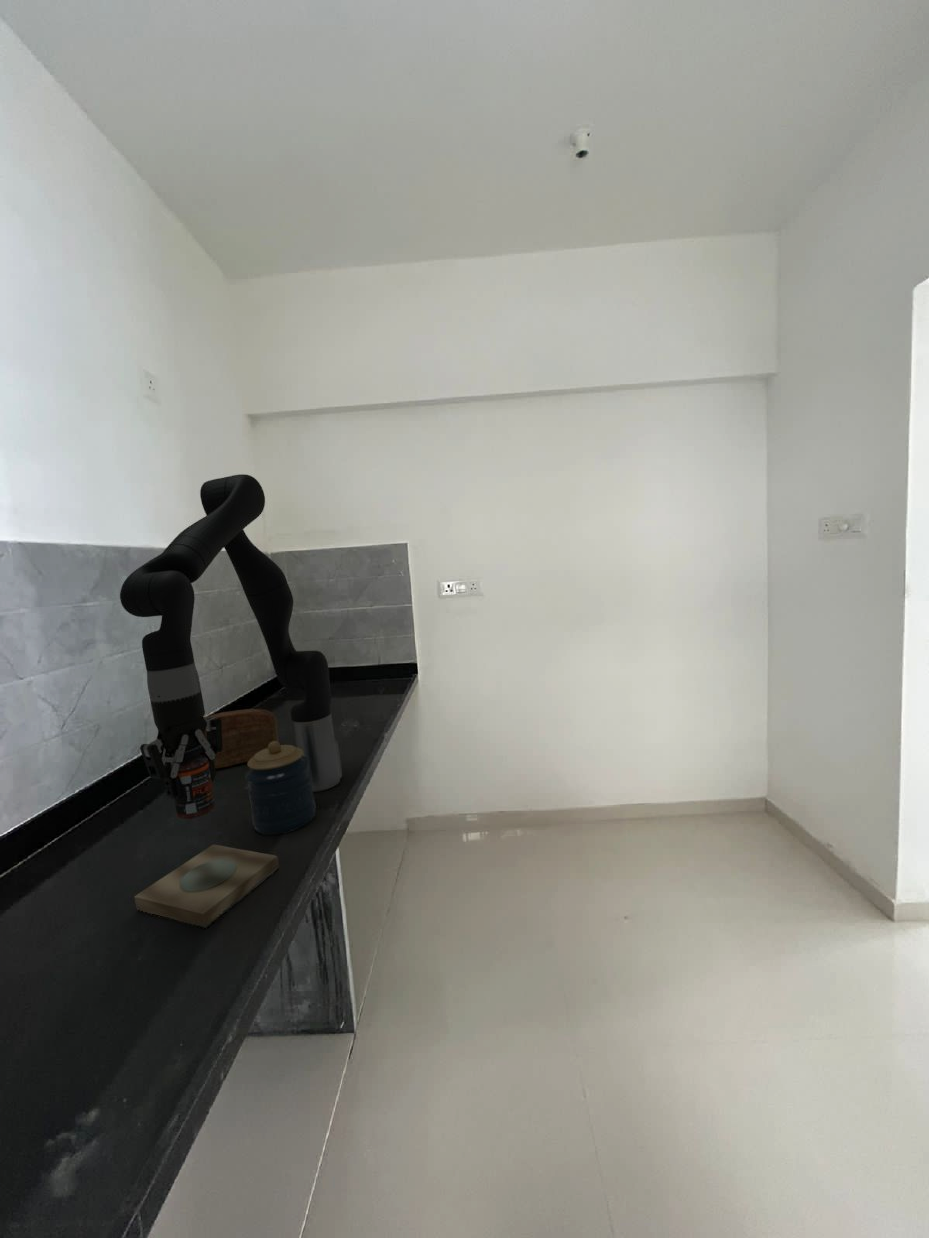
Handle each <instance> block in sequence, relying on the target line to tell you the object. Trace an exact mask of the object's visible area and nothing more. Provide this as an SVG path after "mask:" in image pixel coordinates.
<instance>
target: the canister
mask: <svg viewBox="0 0 929 1238" xmlns="http://www.w3.org/2000/svg"><path fill="white" fill-rule="evenodd" d="M303 753H304V752H303V750H302V749H300V748H297V747H296V745H292V744H280V742H279V741H278V742H277V741H273V742H270V743H269V745H268V748H266V749H264V750H261V751H259V752H258V753H256V754H255V755H254V757H252V758H251V759H250V760H249V761H248V762H247V767H248V768H249V769H248V770H247V771H245V773H244V778H245V779H246V781H247V782H248V787H247V794H248V796H249V803H250V809H251V814H252V816H251V820H252V824H253V826H254V829H255V831H256V832H258V833H259V834H261V835H267V836H268V835H269V836H273V835H272V834H276V835H282V834H285V833H284V832H287V833H290V832H292V831H291V830H293V831H295V830H294V829H296V828H298V829H300V828H302V827H304V826H306V825H307V824H309V823H310V822H311V821H312V820H313V819H314V817H315V816H316V809H317V805H316V801H315V799H314V792H313V790H312V783H311V774H310V773H309V772H308V769H307V767H308V765H309V760H308V759H307V758H306V757H303ZM312 818H313V819H312ZM309 821H310V822H309ZM308 822H309V823H308ZM303 825H304V826H303ZM301 826H302V827H301ZM296 830H297V829H296ZM289 831H290V832H289ZM281 833H282V834H281Z"/></svg>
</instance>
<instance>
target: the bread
mask: <svg viewBox="0 0 929 1238" xmlns="http://www.w3.org/2000/svg"><path fill="white" fill-rule="evenodd" d="M203 717H204V719H205V720H207V719H208V718H220V719H221V722H222V742H223V750H222V751H221V752H218V753H217V754H216V755H215V758H214V764H215V770H216V769H222V768H225V767H231V766H235V765H238V764H242V763H248V761H249V760H250V759H251V758H252V757H254V755H255V754H256V753H258V752H259V751H261V750H264V749H266V748H268V745H269V743H270V742H273V741H277V742H279V739H278V727H277V726H278V720H277V717H276V716H275V715H274V713H272V712H271V711H270V710H267V709H264V708H246V709H237V710H228V711H222V712H217V713H214V714H210V715H207V716H203ZM204 737H205V738H206V740H207V731H206V730H205V733H204ZM214 740H215V739H214ZM171 757H172V758H173V757H174V756H173V754H171Z"/></svg>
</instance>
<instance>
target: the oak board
mask: <svg viewBox="0 0 929 1238" xmlns="http://www.w3.org/2000/svg"><path fill="white" fill-rule="evenodd" d="M278 858H279V857H278V855H274V854H268V853H263V852H262V853H261V852H256V851H252V850H245V849H240V848H235V847H231V846H230V847H229V846H224V845H218V844H212V845H209V847H207V848H206V849H204V850H203V851H201V852H200V853H198V854H197V855H195V856H193V857H192V858H191V859H189V860H188V861H186V862H184V863H183V864H182V865H180V866H178V867H177V868H175V869H174V870H173V871H171V872H170V873H168V874H166V875H165V876H163V877H161V878H160V879H159V880H157V881H156V882H154V883H153V884H150V885H149V886H148V887H146V888H145V889H144V890H142V891H140V892H139V893H138V894H136V895H135V896H134V902H135V907H136V911H138V910H140V911H139V912H141V911H143V912H142V913H145V912H147V913H146V914H149V913H150V915H152V914H156V915H160V916H163V917H169V918H172V919H175V920H179V921H184V922H187V923H191V924H196V925H200V926H204V927H206V925H208V924H209V923H210V922H211V921H212V920H214V919H215V918H216V917H218V916H219V914H222V913H223V911H224V910H226V909H227V908H228V907H230V905H231V904H232V903H234V902H235V901H236V900H238V899H239V898H240V897H242V896H243V895H244V894H245V893H247V892H248V891H249V890H250V889H251V888H252V887H253V886H255V884H256V883H258V882H259V881H260V880H262V879H263V878H264V877H265V876H267V875H268V874H269V873H271V872H272V871H273V870H274V869H276V868H277V867H278V866H279V867H280V865H279V863H280V862H279V859H278ZM156 915H155V916H156ZM160 916H159V917H160ZM163 917H162V918H163Z"/></svg>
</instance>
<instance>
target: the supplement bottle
mask: <svg viewBox="0 0 929 1238" xmlns="http://www.w3.org/2000/svg"><path fill="white" fill-rule="evenodd" d="M200 752H201V751H200V747H199V745H198V746H196V747H194V748H191V749H189V750H187V751H184V756H183V761H182V763H180V765H179V769H178V774H177V776H179V780H180V786H181V791H182V797H181V798H179V799H173V801H174V805H175V811H176V815H177V817H178V818H180V819H184V820H186V819H187V820H189V819H191V820H192V819H196V818H199V817H202V816H203V817H204V816H205V815H206V814H208V813H210V812H211V811H212V810H214V808H215V807H216V799H215V791H214V788H213V781H211V774H210V769H209V763H208V759H207V758H206V757H205V756H202V755H201V754H200ZM173 756H175V755H173ZM173 756H172V757H173Z"/></svg>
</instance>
